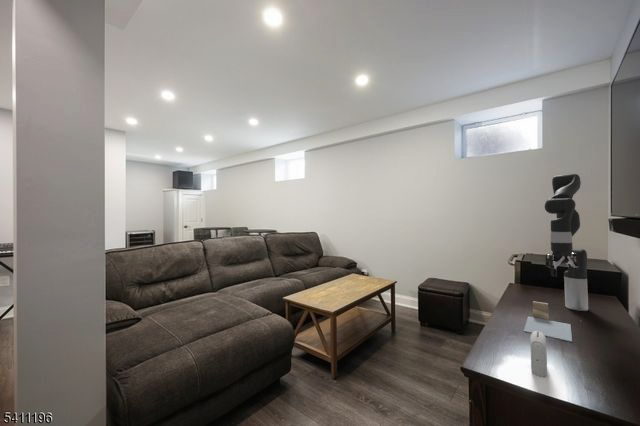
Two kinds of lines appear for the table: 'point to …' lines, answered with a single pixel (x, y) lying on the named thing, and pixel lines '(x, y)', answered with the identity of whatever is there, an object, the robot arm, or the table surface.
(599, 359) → the table surface
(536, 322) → the mat
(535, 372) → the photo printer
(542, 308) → the tile
